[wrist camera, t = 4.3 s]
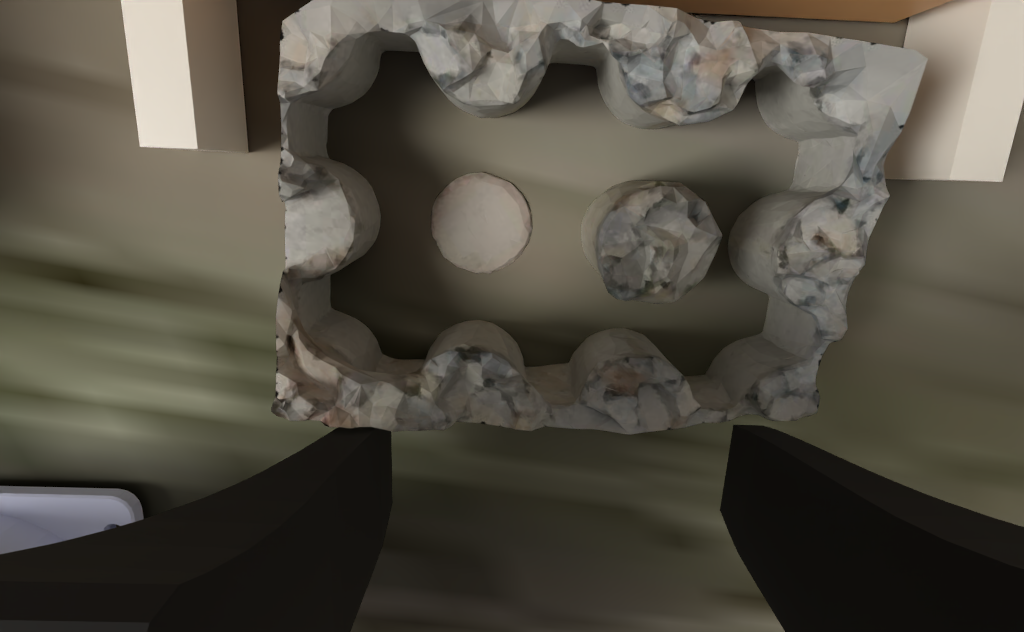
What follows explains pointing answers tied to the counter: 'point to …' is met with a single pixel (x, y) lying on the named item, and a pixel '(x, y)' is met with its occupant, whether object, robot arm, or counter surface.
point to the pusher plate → (801, 8)
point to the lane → (914, 156)
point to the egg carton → (607, 223)
